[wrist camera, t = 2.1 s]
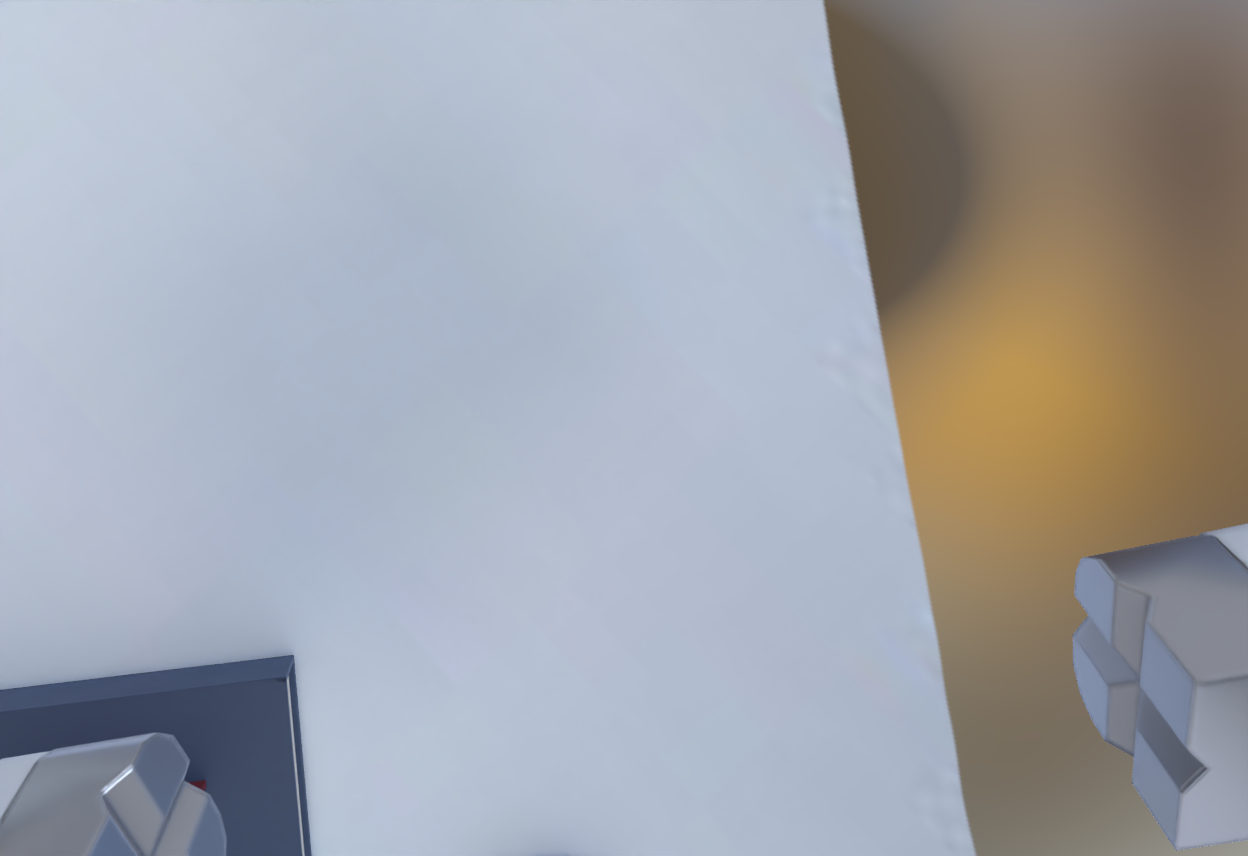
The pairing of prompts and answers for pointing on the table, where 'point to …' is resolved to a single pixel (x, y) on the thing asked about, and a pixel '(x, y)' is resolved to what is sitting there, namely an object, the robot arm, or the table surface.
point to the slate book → (190, 737)
